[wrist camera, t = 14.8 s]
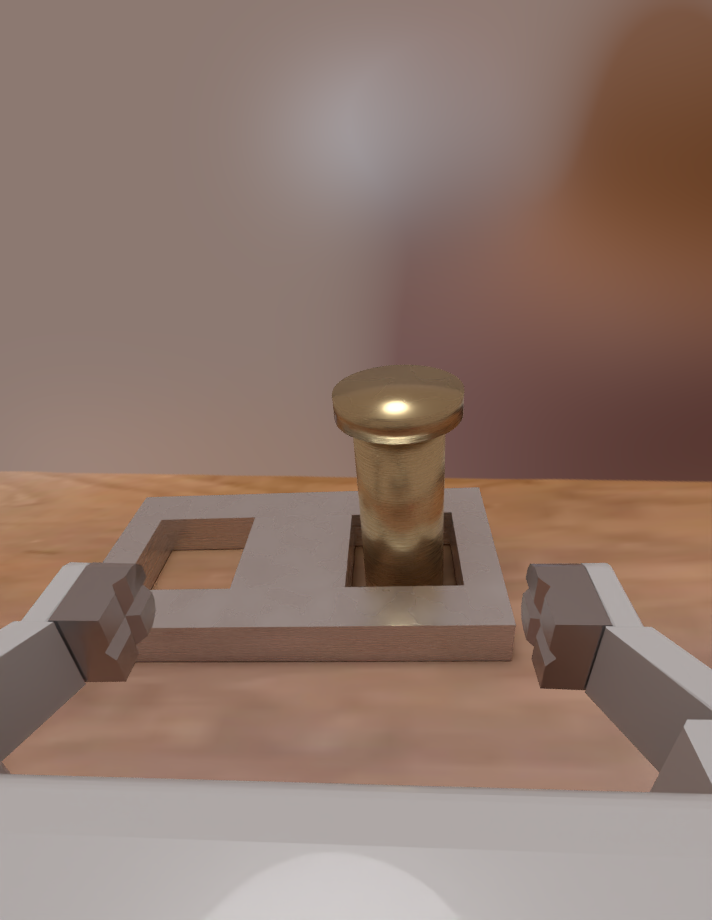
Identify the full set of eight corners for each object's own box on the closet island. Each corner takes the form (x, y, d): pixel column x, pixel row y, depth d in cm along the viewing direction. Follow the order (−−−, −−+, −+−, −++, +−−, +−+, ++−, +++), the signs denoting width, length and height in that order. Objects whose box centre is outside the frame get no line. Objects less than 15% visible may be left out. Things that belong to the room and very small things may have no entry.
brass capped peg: (348, 621, 27) (325, 421, 21) (355, 546, 32) (337, 367, 26) (462, 621, 27) (472, 415, 21) (451, 544, 32) (456, 362, 26)
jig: (75, 661, 26) (57, 628, 25) (156, 526, 36) (146, 497, 34) (511, 660, 25) (515, 625, 23) (476, 518, 34) (478, 487, 33)
